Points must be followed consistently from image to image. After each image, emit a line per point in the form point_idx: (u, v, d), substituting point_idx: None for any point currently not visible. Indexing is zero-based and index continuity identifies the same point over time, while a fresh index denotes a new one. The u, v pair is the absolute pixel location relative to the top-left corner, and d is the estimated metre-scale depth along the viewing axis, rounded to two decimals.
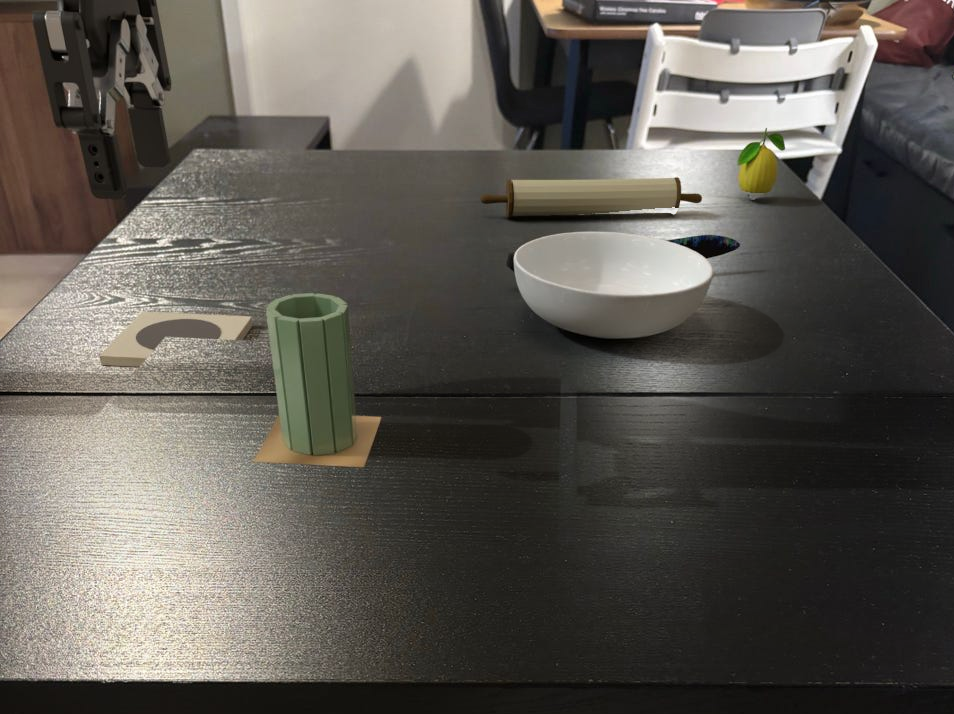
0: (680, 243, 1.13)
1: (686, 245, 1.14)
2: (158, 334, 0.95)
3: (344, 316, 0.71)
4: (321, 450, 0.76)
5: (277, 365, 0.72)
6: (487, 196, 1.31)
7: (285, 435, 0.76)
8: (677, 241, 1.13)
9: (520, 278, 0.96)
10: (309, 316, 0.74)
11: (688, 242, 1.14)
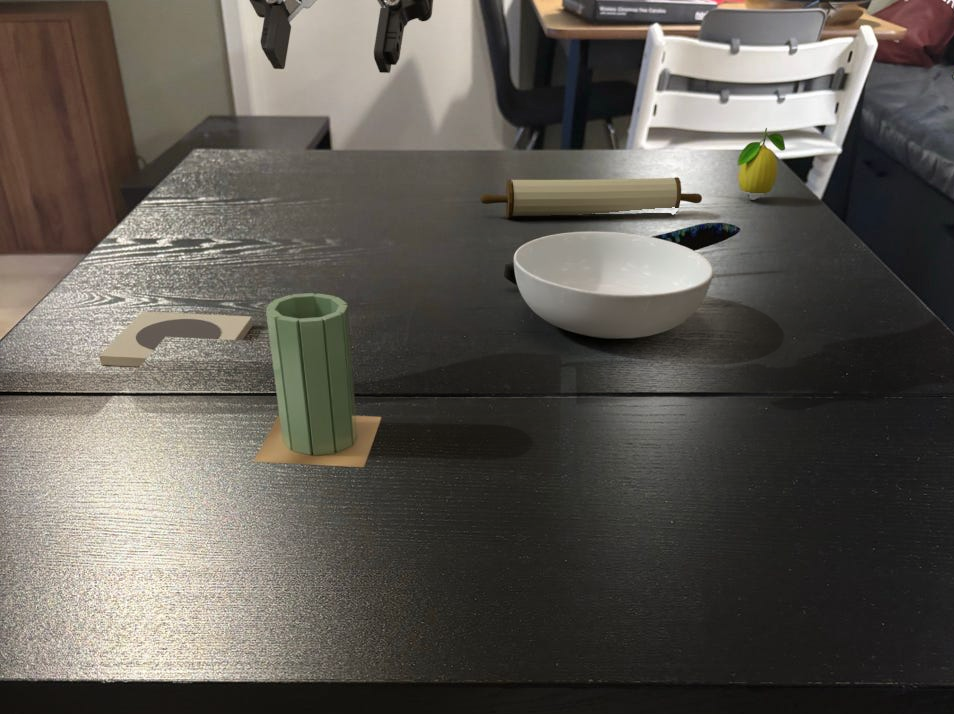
0: (678, 234, 1.13)
1: (684, 236, 1.13)
2: (158, 334, 0.95)
3: (344, 316, 0.71)
4: (321, 450, 0.76)
5: (277, 365, 0.72)
6: (487, 196, 1.31)
7: (285, 435, 0.76)
8: (675, 233, 1.12)
9: (520, 278, 0.96)
10: (309, 316, 0.74)
11: (686, 232, 1.13)
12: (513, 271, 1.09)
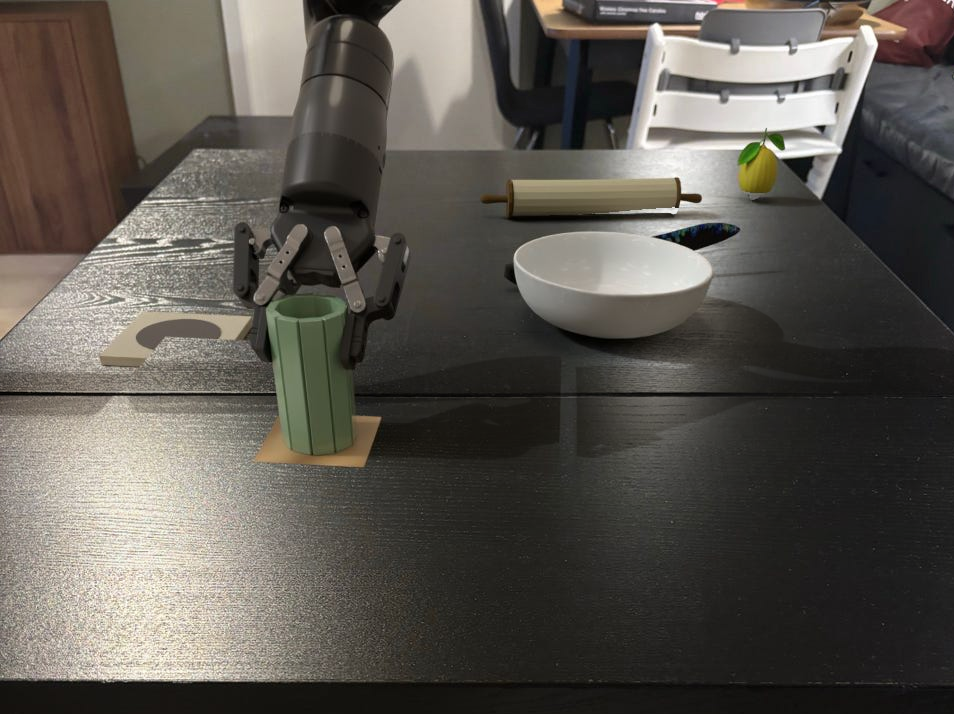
0: (678, 234, 1.13)
1: (684, 236, 1.13)
2: (158, 334, 0.95)
3: (344, 316, 0.71)
4: (321, 450, 0.76)
5: (277, 365, 0.72)
6: (487, 196, 1.31)
7: (285, 435, 0.76)
8: (675, 233, 1.12)
9: (520, 278, 0.96)
10: (309, 316, 0.74)
11: (686, 232, 1.13)
12: (513, 271, 1.09)
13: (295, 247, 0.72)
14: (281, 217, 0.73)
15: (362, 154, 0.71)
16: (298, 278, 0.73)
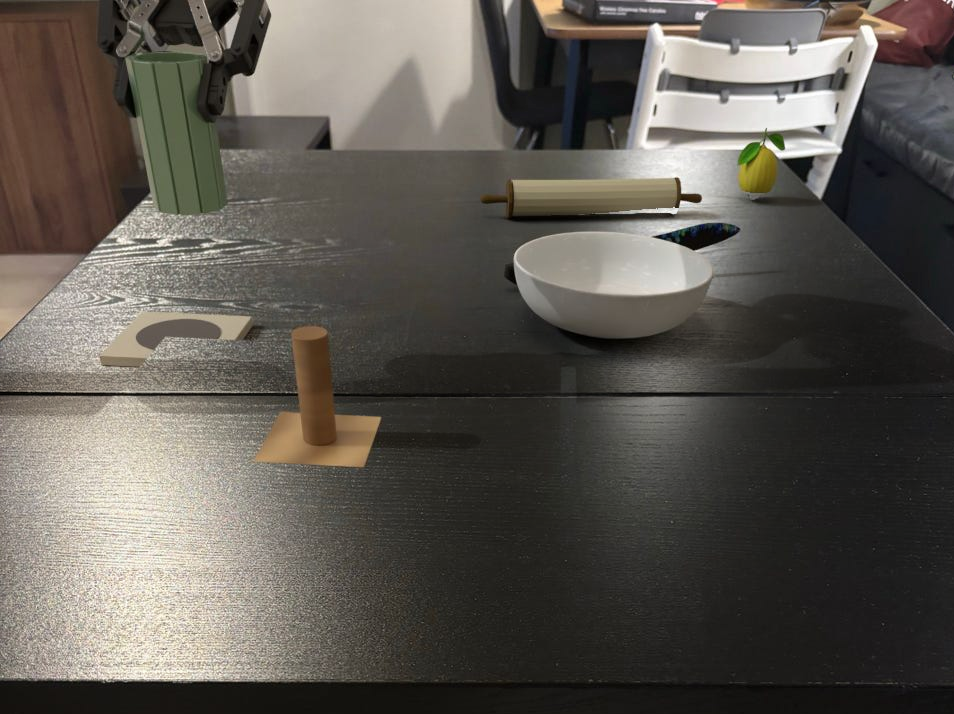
0: (678, 234, 1.13)
1: (684, 236, 1.13)
2: (158, 334, 0.95)
3: (201, 64, 0.73)
4: (188, 210, 0.78)
5: (139, 117, 0.75)
6: (487, 196, 1.31)
7: (154, 197, 0.79)
8: (675, 233, 1.12)
9: (520, 278, 0.96)
10: None
11: (686, 232, 1.13)
12: (513, 271, 1.09)
13: (155, 0, 0.74)
14: None
15: None
16: (161, 34, 0.76)
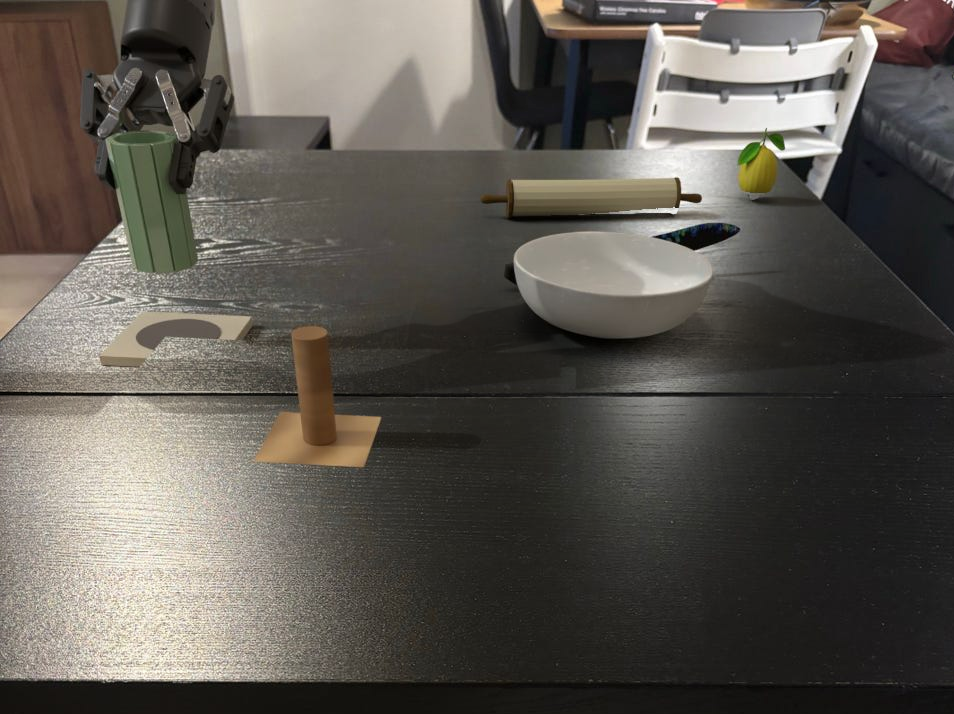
0: (678, 234, 1.13)
1: (684, 236, 1.13)
2: (158, 334, 0.95)
3: (172, 145, 0.84)
4: (162, 269, 0.89)
5: (118, 189, 0.85)
6: (487, 196, 1.31)
7: (132, 257, 0.89)
8: (675, 233, 1.12)
9: (520, 278, 0.96)
10: None
11: (686, 232, 1.13)
12: (513, 271, 1.09)
13: (131, 87, 0.84)
14: (122, 64, 0.85)
15: (187, 7, 0.84)
16: (137, 116, 0.86)
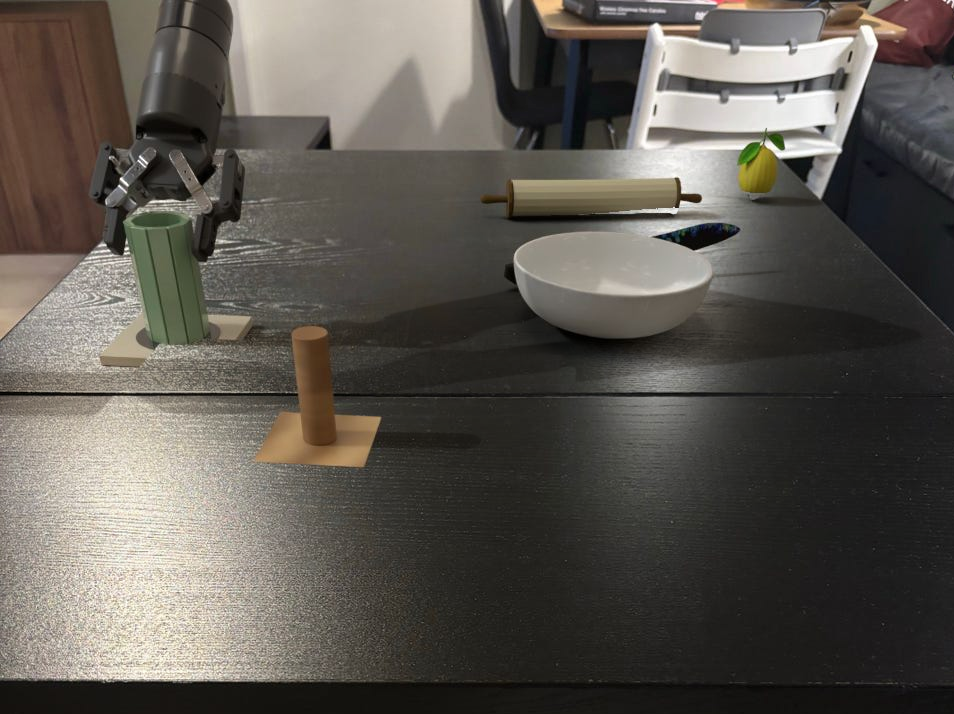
0: (678, 234, 1.13)
1: (684, 236, 1.13)
2: None
3: (186, 227, 0.88)
4: (176, 341, 0.93)
5: (135, 268, 0.90)
6: (487, 196, 1.31)
7: (147, 329, 0.94)
8: (675, 233, 1.12)
9: (520, 278, 0.96)
10: None
11: (686, 232, 1.13)
12: (513, 271, 1.09)
13: (144, 165, 0.88)
14: (137, 143, 0.90)
15: (200, 90, 0.88)
16: (151, 192, 0.90)
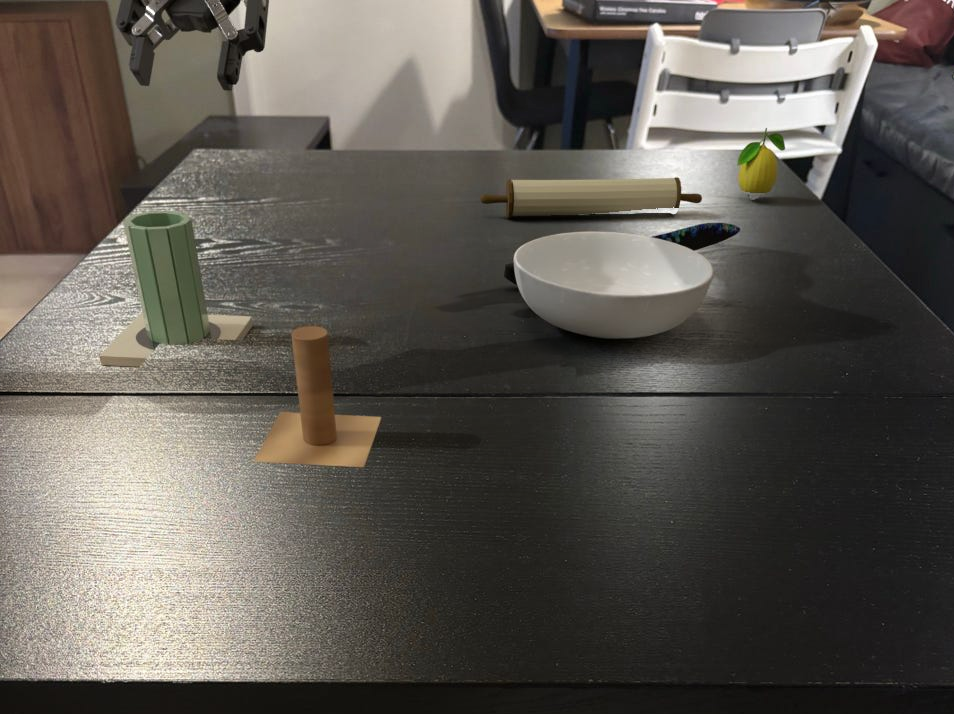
0: (678, 234, 1.13)
1: (684, 236, 1.13)
2: None
3: (186, 227, 0.88)
4: (176, 341, 0.93)
5: (135, 268, 0.90)
6: (487, 196, 1.31)
7: (147, 329, 0.94)
8: (675, 233, 1.12)
9: (520, 278, 0.96)
10: None
11: (686, 232, 1.13)
12: (513, 271, 1.09)
13: None
14: None
15: None
16: (176, 22, 0.91)
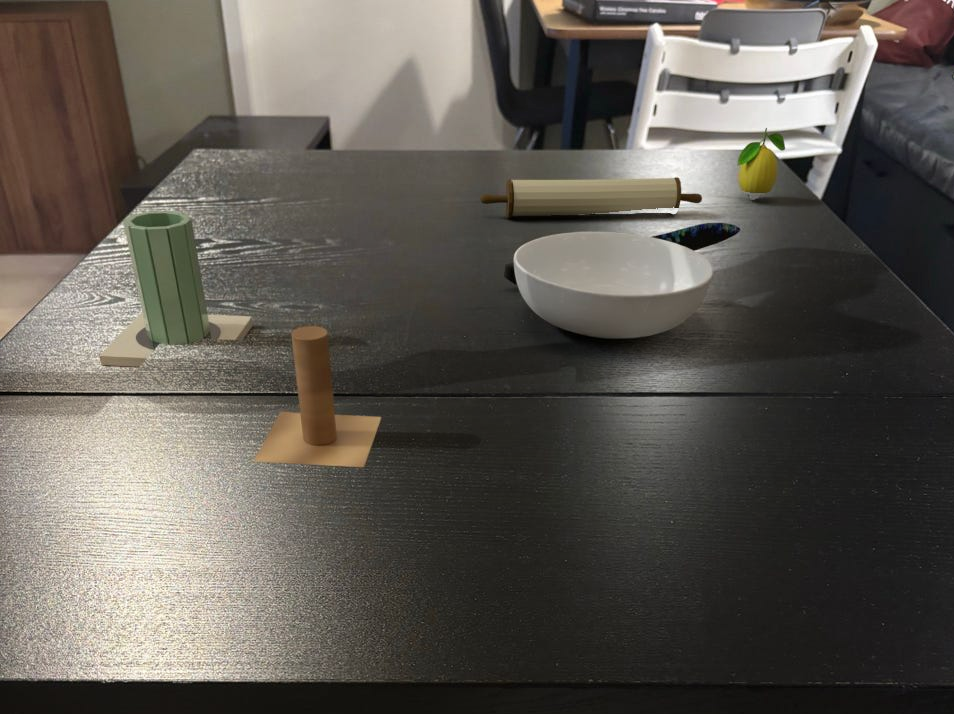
0: (678, 234, 1.13)
1: (684, 236, 1.13)
2: None
3: (186, 227, 0.88)
4: (176, 341, 0.93)
5: (135, 268, 0.90)
6: (487, 196, 1.31)
7: (147, 329, 0.94)
8: (675, 233, 1.12)
9: (520, 278, 0.96)
10: None
11: (686, 232, 1.13)
12: (513, 271, 1.09)
13: None
14: None
15: None
16: None
